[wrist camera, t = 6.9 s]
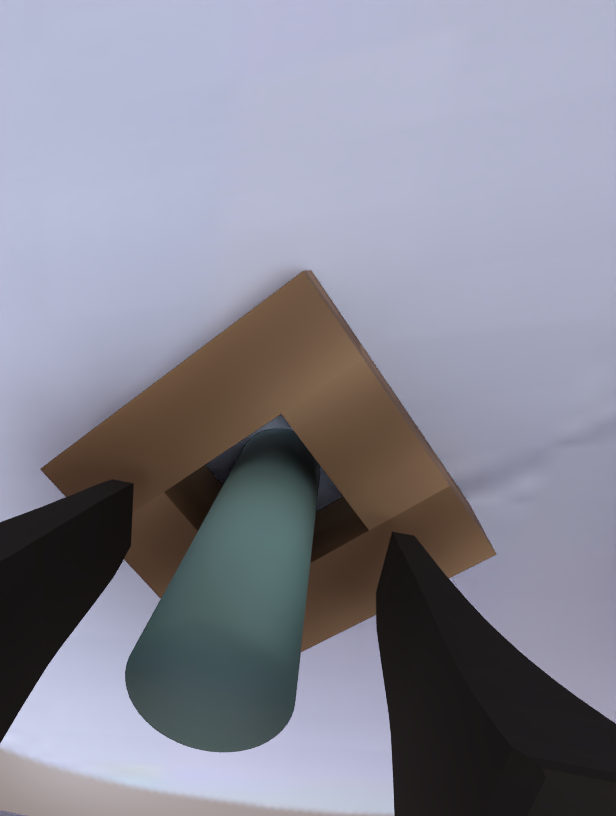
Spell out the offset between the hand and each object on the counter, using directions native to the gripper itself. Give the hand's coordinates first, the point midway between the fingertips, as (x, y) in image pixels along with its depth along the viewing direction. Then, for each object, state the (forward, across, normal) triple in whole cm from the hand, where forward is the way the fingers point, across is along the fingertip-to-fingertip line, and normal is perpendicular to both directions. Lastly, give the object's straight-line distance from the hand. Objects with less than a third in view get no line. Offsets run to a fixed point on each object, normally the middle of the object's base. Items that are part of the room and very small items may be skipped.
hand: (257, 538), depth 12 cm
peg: (+4, 0, 0) cm, 4 cm away
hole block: (+4, 0, 0) cm, 4 cm away
